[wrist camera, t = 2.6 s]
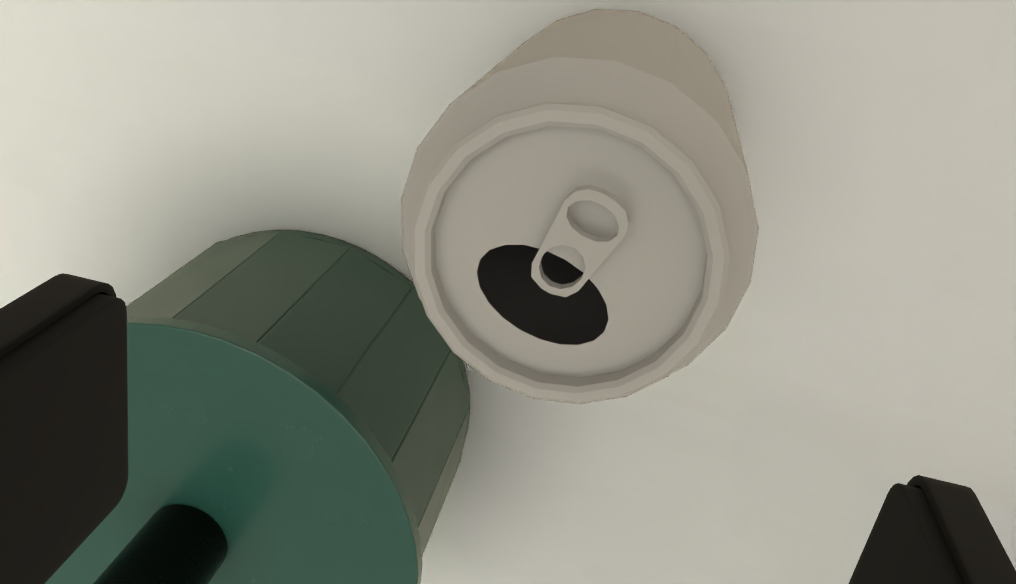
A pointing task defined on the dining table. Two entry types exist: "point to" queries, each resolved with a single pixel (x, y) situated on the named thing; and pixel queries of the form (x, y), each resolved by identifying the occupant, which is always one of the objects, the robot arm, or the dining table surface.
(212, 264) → the pot
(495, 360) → the can
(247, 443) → the pot lid
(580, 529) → the dining table surface
